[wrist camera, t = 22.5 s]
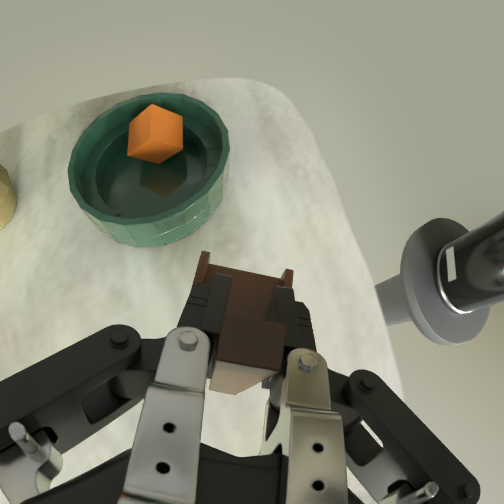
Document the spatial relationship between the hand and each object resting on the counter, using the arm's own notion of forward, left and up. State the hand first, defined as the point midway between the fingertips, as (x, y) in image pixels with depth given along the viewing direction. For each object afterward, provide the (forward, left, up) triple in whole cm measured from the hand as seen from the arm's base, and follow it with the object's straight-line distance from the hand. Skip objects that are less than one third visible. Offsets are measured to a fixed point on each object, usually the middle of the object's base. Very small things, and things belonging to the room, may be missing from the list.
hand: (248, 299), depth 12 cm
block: (+11, -14, -10) cm, 20 cm away
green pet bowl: (+11, -12, -14) cm, 21 cm away
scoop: (0, 0, -9) cm, 9 cm away
